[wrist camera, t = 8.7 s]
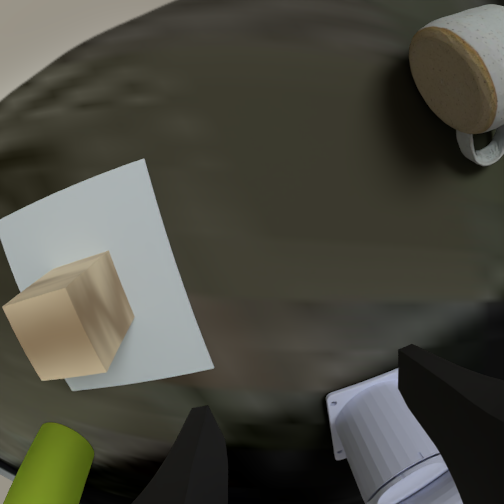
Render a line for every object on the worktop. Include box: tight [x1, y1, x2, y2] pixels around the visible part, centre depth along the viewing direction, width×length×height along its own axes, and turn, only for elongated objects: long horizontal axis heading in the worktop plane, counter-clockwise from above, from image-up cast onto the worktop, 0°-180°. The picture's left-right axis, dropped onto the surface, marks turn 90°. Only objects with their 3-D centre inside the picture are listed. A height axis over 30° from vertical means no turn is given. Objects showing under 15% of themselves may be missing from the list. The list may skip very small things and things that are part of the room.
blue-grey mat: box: [0, 159, 214, 391], centre depth 18 cm, size 14×12×1 cm
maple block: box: [3, 251, 135, 381], centre depth 15 cm, size 4×4×6 cm
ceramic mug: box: [409, 4, 504, 166], centre depth 13 cm, size 11×8×8 cm
